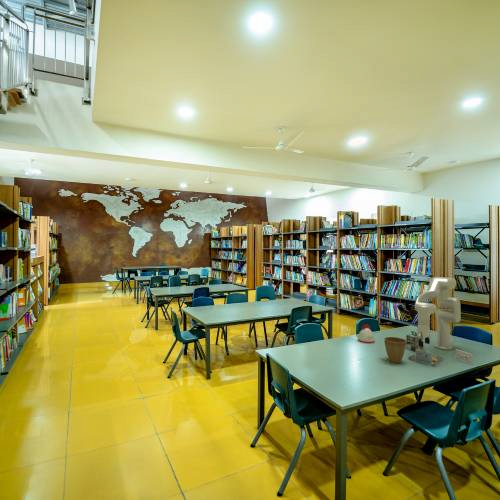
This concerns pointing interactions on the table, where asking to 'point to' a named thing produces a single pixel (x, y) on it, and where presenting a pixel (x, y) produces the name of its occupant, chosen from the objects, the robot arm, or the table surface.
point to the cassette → (465, 359)
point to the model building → (413, 342)
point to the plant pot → (395, 348)
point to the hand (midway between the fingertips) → (424, 345)
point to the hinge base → (434, 362)
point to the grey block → (424, 355)
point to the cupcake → (366, 335)
